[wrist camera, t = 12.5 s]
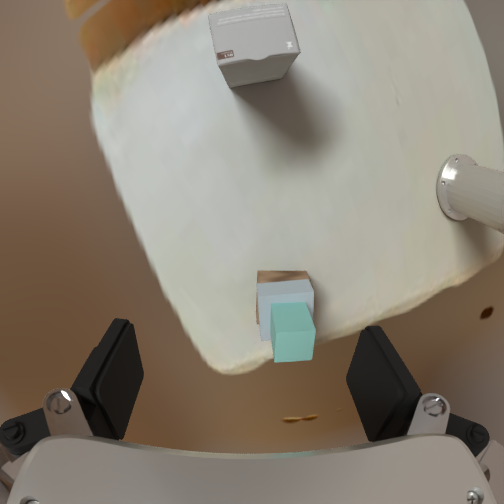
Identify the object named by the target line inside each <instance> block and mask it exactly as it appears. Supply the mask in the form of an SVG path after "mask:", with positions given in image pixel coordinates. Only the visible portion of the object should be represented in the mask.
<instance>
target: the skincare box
mask: <svg viewBox="0 0 504 504" xmlns="http://www.w3.org/2000/svg"><path fill="white" fill-rule="evenodd" d="M208 18H209V24H210V30H211V35H212V40H213V45H214V50H215V55H216V60H217V64H218V66H219V68H220V70H221V72H222V74H223V76H224V78H225V80H226V82H227V85H228V86H229V88H232V87H237V86H242V85H247V84H252V83H258V82H264V81H270V80H276V79H282V78H283V76H284V75H285V73H286V72H287V70H288V69H289V67H290V66H291V65H292V63H293V62H294V60H295V59H296V57H297V56H298V55H299V54H300V53H301V52H300V48H299V44H298V40H297V37H296V33H295V30H294V26H293V23H292V20H291V16H290V13H289V10H288V7H287V4H286V3H284V4H272V5H262V6H253V7H246V8H240V9H234V10H229V11H224V12H219V13H214V14H210V15H208Z"/></svg>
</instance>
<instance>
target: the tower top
mask: <svg viewBox="0 0 504 504" xmlns="http://www.w3.org/2000/svg"><path fill="white" fill-rule="evenodd" d="M257 298H258V311H259V325H260V336H261V341H267V340H271V335H270V315H271V303H293V302H306V305H307V308H308V310H309V313H310V316H311V318H312V321H313V307H314V290H313V288H312V286H311V284H310V282H309V279H303V280H292V281H281V282H269V283H257Z"/></svg>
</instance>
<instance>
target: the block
mask: <svg viewBox="0 0 504 504" xmlns="http://www.w3.org/2000/svg"><path fill="white" fill-rule="evenodd" d="M315 334H316V329H315V326H314V324H313V321H312V318H311V316H310V313H309V310H308V308H307V305H306V302H293V303H271V315H270V335H271V342H272V348H273V355H274V362H290V361H302V360H312V355H313V348H314V341H315Z"/></svg>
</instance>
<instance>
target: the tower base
mask: <svg viewBox="0 0 504 504" xmlns="http://www.w3.org/2000/svg"><path fill="white" fill-rule="evenodd" d="M303 279H309V277H308V274H307V272H306V271H258V274H257V283H269V282H281V281H292V280H303ZM309 282H310V279H309ZM256 317H257V324H259V311H258V298H257V301H256Z"/></svg>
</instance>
